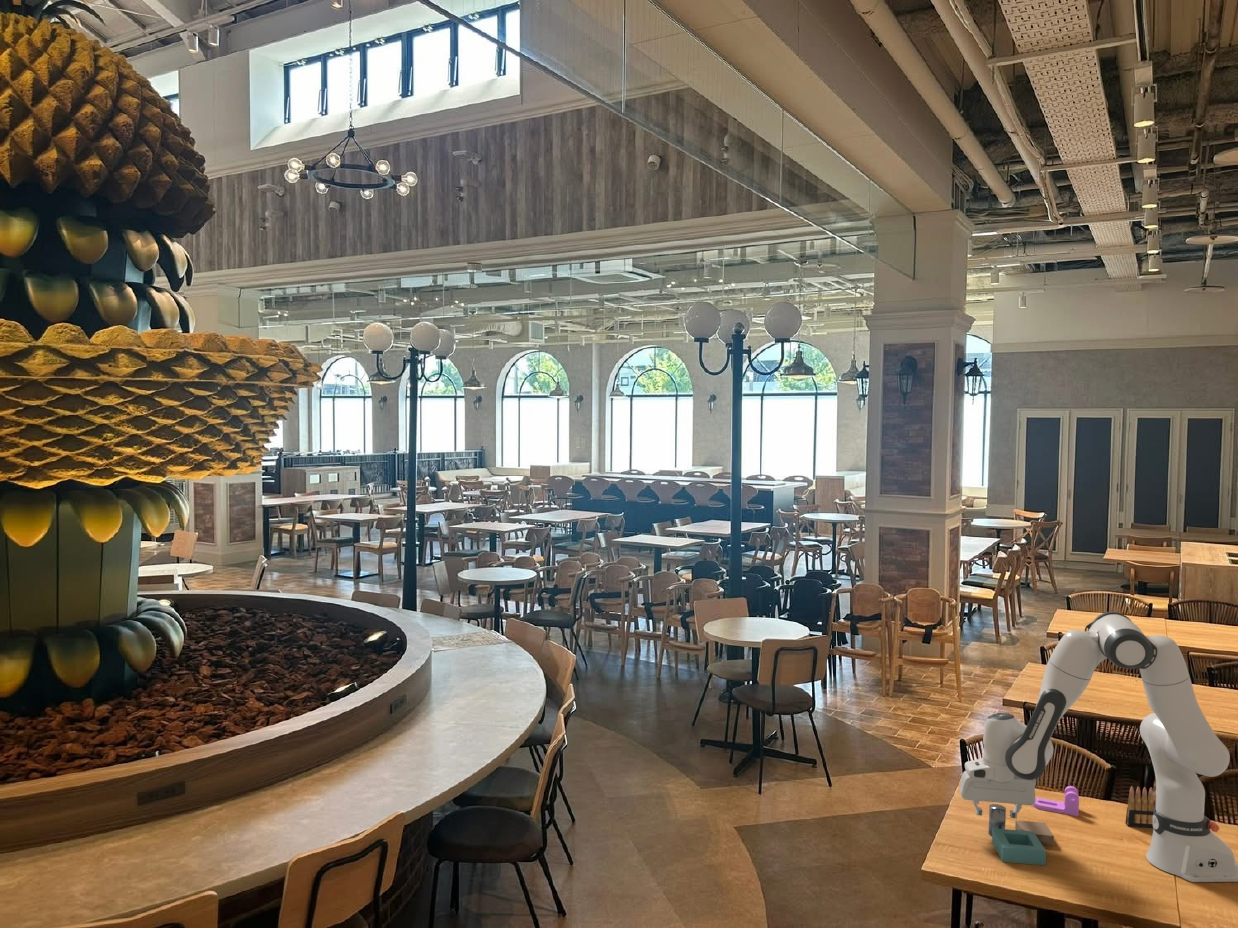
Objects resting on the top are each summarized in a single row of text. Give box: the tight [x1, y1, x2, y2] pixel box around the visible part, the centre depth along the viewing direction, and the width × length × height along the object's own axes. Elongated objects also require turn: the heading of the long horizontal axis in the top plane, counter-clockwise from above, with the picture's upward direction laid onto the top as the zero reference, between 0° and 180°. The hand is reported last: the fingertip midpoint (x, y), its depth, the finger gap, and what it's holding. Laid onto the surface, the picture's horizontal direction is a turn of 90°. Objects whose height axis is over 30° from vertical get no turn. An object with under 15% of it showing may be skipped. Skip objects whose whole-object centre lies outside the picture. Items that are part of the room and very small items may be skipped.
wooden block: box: [1014, 820, 1055, 847], centre depth 252 cm, size 8×8×3 cm
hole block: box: [991, 828, 1047, 866], centre depth 244 cm, size 11×11×4 cm
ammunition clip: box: [1125, 785, 1156, 829], centre depth 260 cm, size 11×2×12 cm, turn 82°
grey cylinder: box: [988, 803, 1007, 837], centre depth 254 cm, size 4×4×8 cm
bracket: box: [1031, 785, 1080, 817], centre depth 271 cm, size 13×6×7 cm, turn 65°
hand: (995, 815), depth 254 cm, fingers open, 8 cm apart
